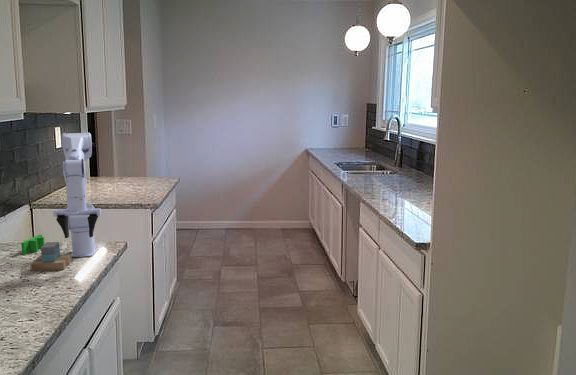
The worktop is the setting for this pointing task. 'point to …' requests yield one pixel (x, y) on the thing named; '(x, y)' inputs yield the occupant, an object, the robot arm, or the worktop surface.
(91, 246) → the robot arm
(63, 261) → the tan flat block
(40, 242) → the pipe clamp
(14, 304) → the worktop surface
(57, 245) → the block
